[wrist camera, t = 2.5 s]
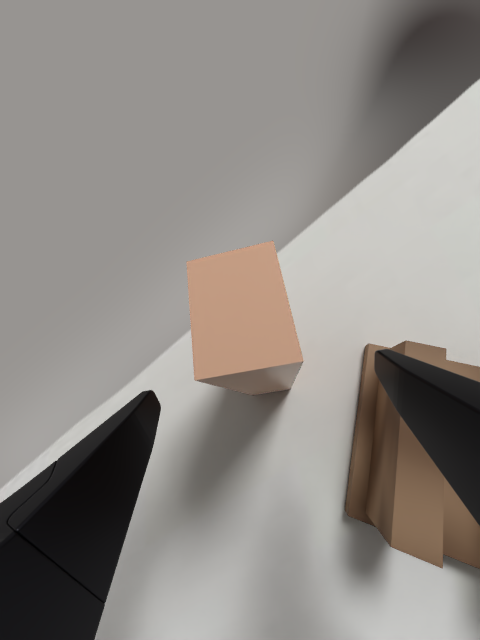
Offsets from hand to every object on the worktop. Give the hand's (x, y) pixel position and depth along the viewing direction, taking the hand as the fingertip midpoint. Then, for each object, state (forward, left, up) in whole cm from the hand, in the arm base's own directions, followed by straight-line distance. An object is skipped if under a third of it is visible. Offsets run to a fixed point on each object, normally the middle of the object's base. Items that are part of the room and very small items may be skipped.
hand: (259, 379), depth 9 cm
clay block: (+2, +1, -9) cm, 10 cm away
